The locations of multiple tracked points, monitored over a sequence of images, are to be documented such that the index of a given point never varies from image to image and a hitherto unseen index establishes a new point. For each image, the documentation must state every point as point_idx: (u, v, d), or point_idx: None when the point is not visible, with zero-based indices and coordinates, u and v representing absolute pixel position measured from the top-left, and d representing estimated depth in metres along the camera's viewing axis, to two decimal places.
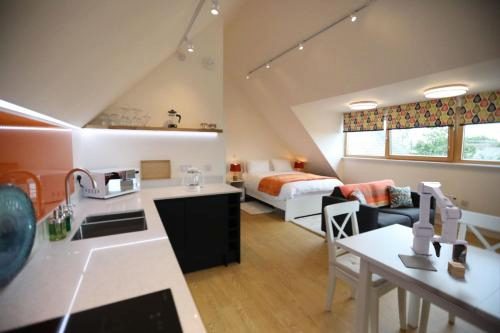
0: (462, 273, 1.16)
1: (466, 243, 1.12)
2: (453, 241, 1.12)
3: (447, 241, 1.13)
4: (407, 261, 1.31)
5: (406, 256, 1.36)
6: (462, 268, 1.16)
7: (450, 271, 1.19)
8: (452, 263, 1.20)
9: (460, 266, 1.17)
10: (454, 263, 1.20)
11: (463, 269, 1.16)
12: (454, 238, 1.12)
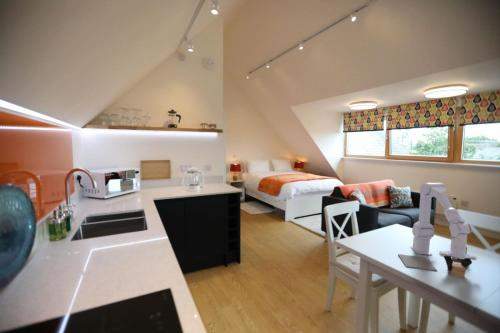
0: (462, 273, 1.16)
1: (475, 257, 1.15)
2: (462, 255, 1.15)
3: (456, 255, 1.16)
4: (407, 261, 1.31)
5: (406, 256, 1.36)
6: (462, 268, 1.16)
7: (450, 271, 1.19)
8: (452, 263, 1.20)
9: (460, 266, 1.17)
10: (454, 262, 1.20)
11: (463, 269, 1.16)
12: (463, 253, 1.15)
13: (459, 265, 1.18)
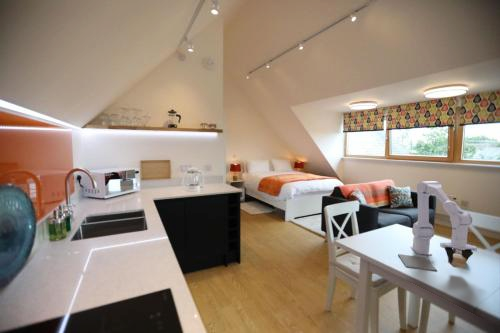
0: (463, 264, 1.16)
1: (476, 248, 1.15)
2: (463, 246, 1.15)
3: (457, 246, 1.16)
4: (407, 261, 1.31)
5: (406, 256, 1.36)
6: (463, 259, 1.15)
7: None
8: (453, 254, 1.19)
9: (461, 257, 1.16)
10: (455, 254, 1.20)
11: (464, 260, 1.15)
12: (464, 243, 1.15)
13: (460, 256, 1.17)
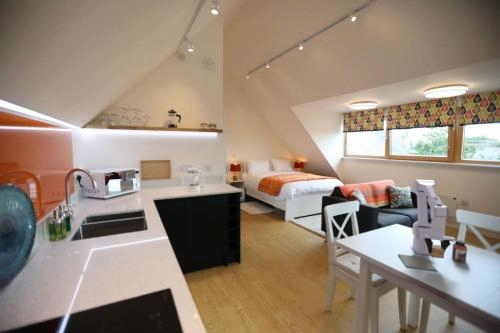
0: (441, 254, 1.21)
1: (453, 239, 1.20)
2: (441, 237, 1.20)
3: (436, 237, 1.21)
4: (407, 261, 1.31)
5: (406, 256, 1.36)
6: (441, 249, 1.21)
7: (430, 253, 1.24)
8: (432, 245, 1.25)
9: (439, 248, 1.22)
10: (434, 245, 1.25)
11: (442, 250, 1.21)
12: (442, 234, 1.20)
13: (439, 247, 1.23)
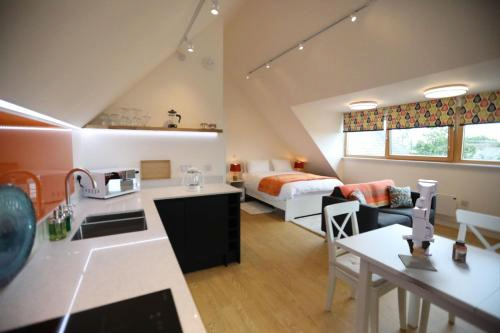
0: (422, 254, 1.27)
1: (433, 240, 1.26)
2: (421, 238, 1.26)
3: (416, 238, 1.27)
4: (407, 261, 1.31)
5: (406, 256, 1.36)
6: (422, 250, 1.26)
7: (412, 253, 1.30)
8: (414, 246, 1.30)
9: (420, 248, 1.27)
10: (416, 245, 1.31)
11: (423, 251, 1.26)
12: (422, 235, 1.26)
13: (419, 247, 1.28)
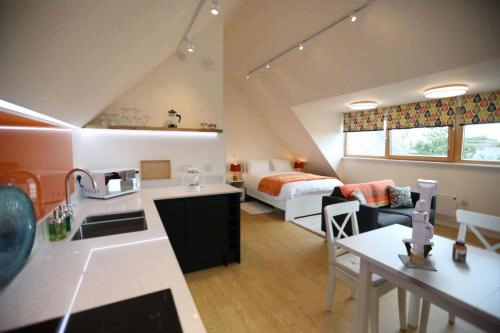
0: (421, 260, 1.27)
1: (433, 244, 1.26)
2: (421, 242, 1.26)
3: (416, 242, 1.27)
4: (407, 261, 1.31)
5: (406, 256, 1.36)
6: (421, 256, 1.27)
7: (411, 259, 1.30)
8: (413, 252, 1.31)
9: (420, 254, 1.28)
10: (415, 251, 1.31)
11: (422, 257, 1.27)
12: (422, 239, 1.26)
13: (419, 253, 1.29)
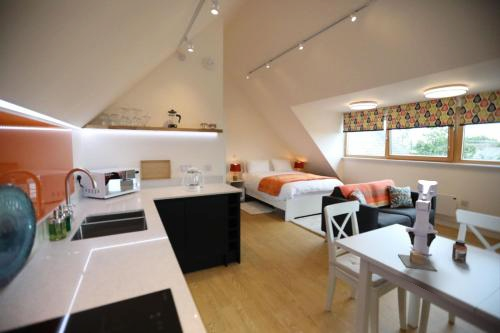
0: (421, 260, 1.27)
1: (436, 232, 1.27)
2: (425, 230, 1.27)
3: (420, 230, 1.28)
4: (407, 261, 1.31)
5: (406, 256, 1.36)
6: (421, 256, 1.27)
7: (411, 259, 1.30)
8: (413, 252, 1.31)
9: (420, 254, 1.28)
10: (415, 251, 1.31)
11: (422, 257, 1.27)
12: (426, 228, 1.27)
13: (419, 253, 1.29)
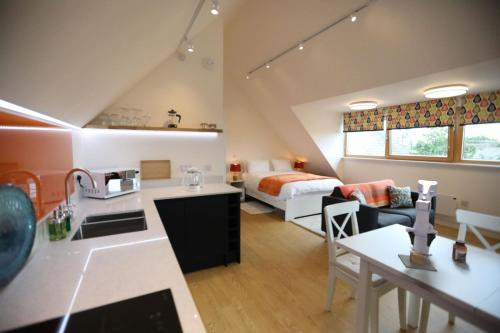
0: (421, 260, 1.27)
1: (436, 232, 1.27)
2: (425, 230, 1.27)
3: (420, 230, 1.28)
4: (407, 261, 1.31)
5: (406, 256, 1.36)
6: (421, 256, 1.27)
7: (411, 259, 1.30)
8: (413, 252, 1.31)
9: (420, 254, 1.28)
10: (415, 251, 1.31)
11: (422, 257, 1.27)
12: (426, 228, 1.27)
13: (419, 253, 1.29)
